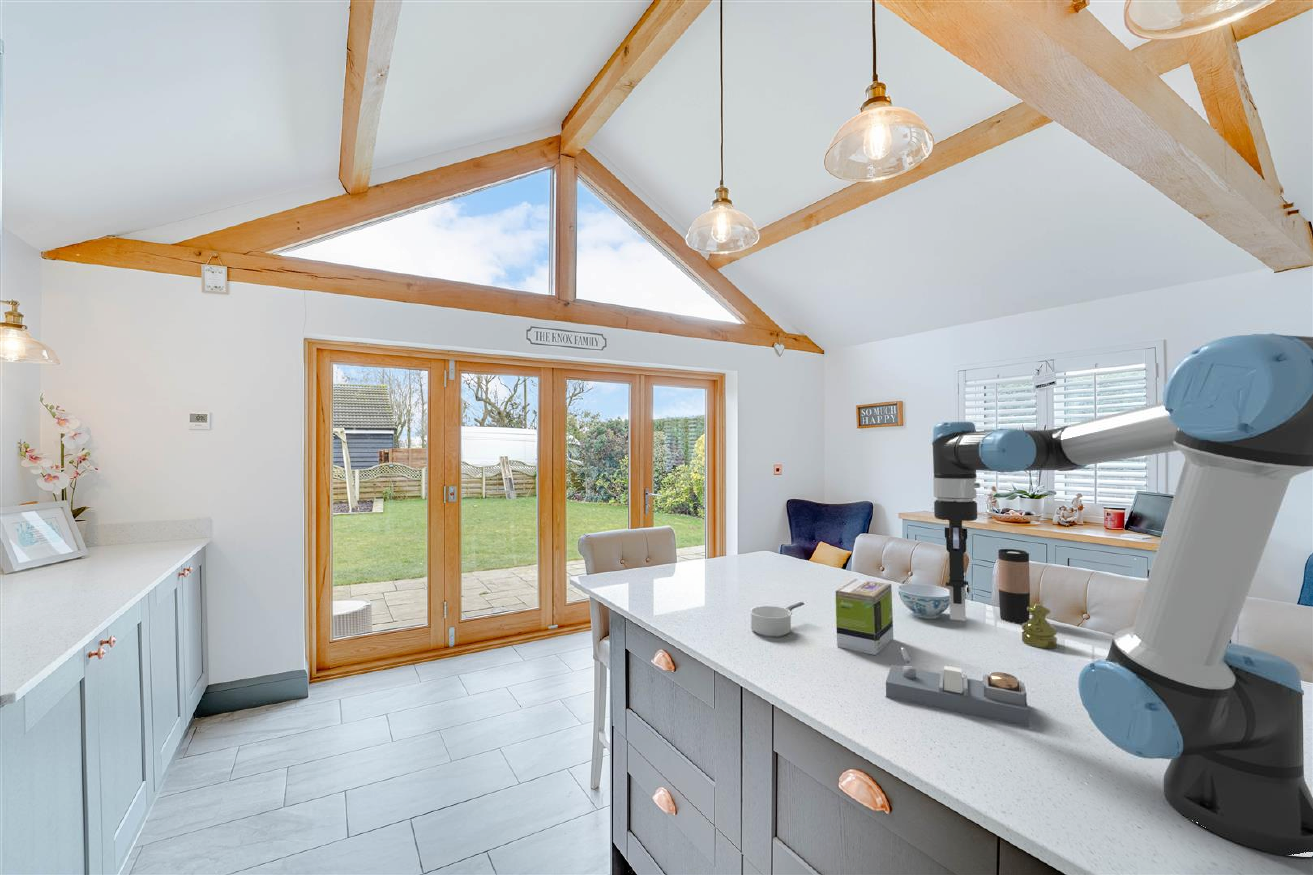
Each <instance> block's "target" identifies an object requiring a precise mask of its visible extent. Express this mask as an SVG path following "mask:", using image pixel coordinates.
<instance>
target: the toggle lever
mask: <svg viewBox="0 0 1313 875" xmlns="http://www.w3.org/2000/svg"><path fill="white" fill-rule="evenodd" d="M900 651H901V654H902V657H903V659H904V663H905V664H906V665H907V664H908V665H909V664H910V663H911V660H910V657H909V655H908V651H907V649H906V648H905V647H901V648H900Z"/></svg>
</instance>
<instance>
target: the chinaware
mask: <svg viewBox="0 0 1313 875" xmlns="http://www.w3.org/2000/svg"><path fill="white" fill-rule="evenodd" d="M897 591H898V595H899V597H900V600H901V601H902V603H903V604H904V605H905V607H906V608H908V610H909V611H911V612H912V615H913V616H914V617H916V618H920V619H926V620H934V619H937V618H938V617H939V615H940V614H942V613H944V612H945V611H946V610H947V609H948V608H950V595H949V588H946V587H943V586H939V585H934V584H926V583H904V584H903V583H902V584H899V585H898V586H897Z"/></svg>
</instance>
